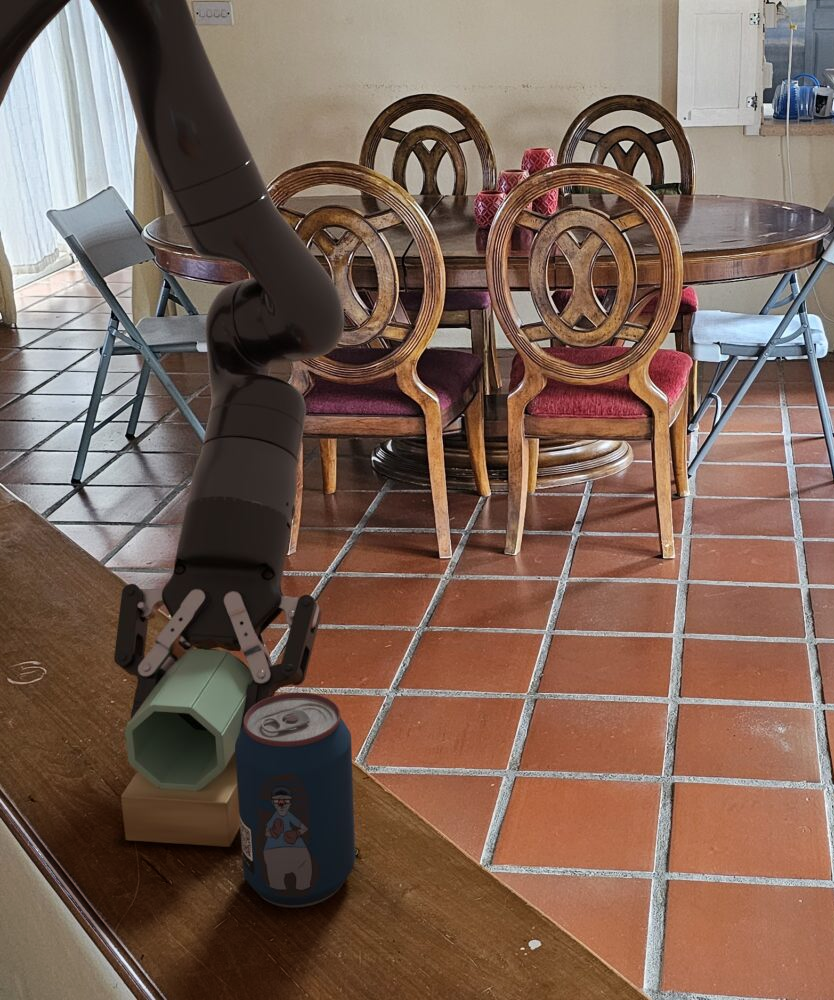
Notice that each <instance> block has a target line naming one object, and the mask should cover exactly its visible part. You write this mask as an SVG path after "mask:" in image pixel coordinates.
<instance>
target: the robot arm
mask: <svg viewBox="0 0 834 1000" xmlns="http://www.w3.org/2000/svg"><path fill="white" fill-rule="evenodd" d="M71 1H72V0H0V107H2V104H3V102H4V99H5V97H6V95H7V92H8V90H9V88H10V85H11V83H12V81H13V78H14V76H15V74H16V71H17V69H18V68H19V65H20V64H21V62H22V60H23V58H24V56H25V55H26V53H27V52H28V51H29V49H30V48H31V46H32V44H33V43H34V42H35V41H36V40H37V39H38V37H39V36H40V35H41V33H42V32H43V31H44V30H45V29H46V28H47V27H48V25H50V24H51V22H52V21H54V19H55V18H56V17H57V16H58V15H59V14H60V13H61V11H62V10H63V9H64V8H65V7H66V6H67V5H68V4H69V3H70V2H71ZM89 2H90V4H91V5H92V7H93V9H94V11H95V12H96V14H97V17H98V18H99V20H100V22H101V24H102V26H103V28H104V30H105V32H106V34H107V37H108V39H109V41H110V43H111V45H112V48H113V50H114V51H113V52H114V53H115V56H116V58H117V61H118V63H119V66H120V70H121V72H122V75H123V78H124V82H125V84H126V87H127V92H128V95H129V98H130V102H131V106H132V110H133V114H134V116H135V121H136V125H137V128H138V131H139V133H140V137H141V140H142V144H143V146H144V149H145V152H146V154H147V157H148V159H149V162H150V164H151V168H152V170H153V172H154V174H155V176H156V178H157V182H158V183H159V185H160V187H161V190H162V191H163V194H164V196H165V197H166V200H167V201H168V204H169V206H170V208H171V210H172V212H173V214H174V216H175V219H176V220H177V222H178V224H179V226H180V229H181V231H182V233H183V234H184V237H185V238H186V240H187V242H188V243H189V246H190V247H191V249H192V250H193V252H195V254H196V255H198V256H199V257H200V258H203V259H206V260H212V261H226V262H227V261H228V262H232V263H235V264H238V265H240V266H242V268H244V270H246V271H247V272H248V274H250V276H251V278H245V279H242V280H238V281H234V282H232V283H230V284H228V285H226V286H224V287H222V288H221V290H220V291H219V292H218V293H217V294H216V295H215V297H214V298H213V300H212V302H211V303H210V306H209V309H208V311H207V314H206V318H205V343H206V344H205V345H206V352H207V353H206V354H207V363H208V378H209V385H210V396H211V397H210V398H211V403H210V407H209V412H208V417H207V424H206V426H205V433H204V437H203V442H202V447H201V450H200V453H199V457H198V459H197V462H196V464H195V468H194V471H193V473H192V477H191V482H190V486H189V491H188V496H187V500H186V506H185V509H184V514H183V515H184V516H183V520H182V524H181V530H180V533H179V534H180V535H179V539H178V540H179V541H178V545H177V550H176V554H175V559H174V567H173V571H172V575H171V577H170V579H169V580H168V581H167V582H166V583H165V585H164V586H163V587H161V588H140V587H139V586H138V585H137V584H135V583H128V584H126V585H125V586H124V587H123V588H122V591H121V597H120V606H119V615H118V623H117V631H116V639H115V648H114V657H113V660H114V663H115V664H116V665H117V666H118V667H120V668H121V669H123V671H125V672H126V673H127V674H128V675H130V676H134V677H136V678H137V684H136V689H135V693H134V698H133V703H132V708H131V711H130V712H131V713H130V720H131V719H132V718H133V716H134V715H135V713H136V712H137V711H138V709H139V708H140V707H141V705H142V704H143V703H144V701H145V700H146V698H147V697H148V696H149V694H150V693H151V692H152V690H153V689H154V687H155V686H156V685H157V683H158V682H159V681H160V679H161V678H162V677H163V675H164V674H165V672H166V671H167V670H168V669H169V668H170V667H171V666H172V665H173V664H174V663H175V662H177V661H178V660H179V659H180V658H181V657H182V656H183V655H184V654H185V653H187V652H188V651H189V650H192V649H217V648H221V649H223V650H225V651H228V652H242V654H243V655H244V657H245V660H246V662H247V666H248V668H249V669H250V671H251V674H252V676H253V685H248V688H247V694H246V695H247V696H246V702H245V708H244V713H243V719H242V725H241V730H242V728H243V726H244V724H243V721H244V717H245V714H246V713H247V711H248V710H249V709H250V708H251V707H252V706H254V705H255V704H257V703H258V702H260V701H262V700H264V699H267V698H269V697H272V696H275V695H276V692H277V691H279V689H281V688H283V687H287V686H290V685H292V686H300V685H302V684H303V683H304V682H305V679H306V675H307V671H308V668H309V665H310V659H311V656H312V652H313V648H314V645H315V641H316V637H317V633H318V629H319V625H320V622H321V618H322V609H321V607H320V605H319V604H318V603H317V601H316V600H315V598H314V597H313V596H312V595H310V594H303V595H301V596H300V597H296V596H295V597H294V596H289V595H284V594H283V592H282V581H283V575H284V569H285V563H286V557H287V551H288V545H289V539H290V534H291V527H292V522H293V521H294V518H295V513H296V505H295V504H296V498H297V489H298V486H297V484H298V482H297V481H298V468H299V467H298V465H299V461H300V454H301V450H302V449H301V448H302V442H303V437H304V433H305V432H304V430H305V424H306V416H307V415H306V414H307V404H306V401H305V398H304V396H303V394H302V393H301V391H300V390H299V389H298V388H297V387H296V386H294V385H293V384H291V383H290V382H288V381H286V380H283V379H281V378H278V377H277V376H272V375H270V373H271V370H272V369H273V367H276V366H282V365H286V364H291V363H296V362H302V361H307V360H311V359H317V358H320V357H323V356H325V355H328V354H330V353H331V352H333V350H335V348H336V347H338V345H339V343H340V342H341V339H342V337H343V333H344V329H345V311H344V306H343V302H342V298H341V295H340V292H339V290H338V288H337V287H336V285H335V283H334V281H333V279H332V278H331V276H330V275H329V274H328V272H327V271H326V269H325V267H324V266H323V265H322V264H321V263H320V262H319V261H318V259H317V257H315V256H314V254H313V253H312V251H311V250H310V248H308V246H307V245H306V244H305V243H304V241H303V240H302V239H301V237H300V236H299V235H298V233H297V232H296V231H295V230H294V228H293V227H292V226H291V224H290V223H288V221H287V220H286V219H285V217H284V216H283V215H282V213H280V211H279V210H278V208H277V207H276V205H275V203H274V201H273V198H272V197H271V194H270V191H269V190H268V187H267V185H266V183H265V180H264V178H263V176H262V173H261V171H260V169H259V167H258V165H257V163H256V159H255V158H254V157H253V154H252V151H251V149H250V147H249V145H248V143H247V141H246V139H245V136H244V134H243V132H242V129H241V127H240V125H239V123H238V120H237V118H236V117H235V114H234V112H233V110H232V108H231V106H230V104H229V101H228V99H227V97H226V95H225V93H224V91H223V88H222V86H221V84H220V82H219V79H218V77H217V75H216V72H215V70H214V67H213V65H212V63H211V61H210V59H209V56H208V54H207V51H206V49H205V46H204V44H203V42H202V39H201V37H200V34H199V32H198V29H197V26H196V24H195V21H194V18H193V16H192V12H191V10H190V7H189V4H188V1H187V0H89ZM162 606H164V607H165V608H166V610H167V612H168V614H169V616H170V619H169V620H168V622H167V623H166V624H165V626H164V627H163V628H162V629H161V631H160V632H159V633H158V635H157V636H156V638H155V643H154V644H153V646H152V648H150V649H149V651H148V652H147V654H146V644H147V635H148V627H149V621H152V620H153V619H154V618H155V617H156V615H157V613H158V610H159V608H161V607H162ZM282 613H284V614H285V618H284V620H285V623H286V624H287V625H288V627H289V633H288V635H287V639H286V644H285V648H284V650H283V655H282V659H281V661H280V663H278V664H274V665H273V663H272V659H271V655H270V653H269V650H268V647H267V645H266V642H265V639H264V636H263V632H265V630H266V629H267V628H268V627H269V626H270V625H271V624H272V623H273V622H275V620H276V619H277V618H278V617H279V616H280V615H281V614H282ZM145 654H146V655H145ZM241 730H240V732H241Z"/></svg>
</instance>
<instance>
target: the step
mask: <svg viewBox="0 0 834 1000" xmlns="http://www.w3.org/2000/svg"><path fill="white" fill-rule="evenodd" d="M120 801H121V811H122V818H123V826H124V838H125V841H133V842H147V843H149V842H150V843H163V844H177V845H178V844H180V845H191V846H192V845H194V846H207V847H208V846H211V847H225V848H230V847H231V846H232V844H233V841H234V840H235V838H236V835H237V834H238V832H239V830H240V815H239V800H238V786H237V771H236V756H235V752H234V753H233V755H232V757H231V759H230V760H229V762H228V764H227V766H226V768H225V769H224V771H222V772H221V773H220V774H219V775H218V776H217V777H215V778H214V779H213V780H212V781H211V782H209V783H208V784H207V785H206V786H205V787H204V788H202V789H201V790H200V791H199V790H198V791H182V790H167V789H160V787H159V788H157V787H156V786H155V785H154V784H153V783H151V782H150V781H149V780H148V779H147V778H145V777H144V776H143V775H142V774H141V773H140V772H138V771H137V772H136V773H135V775H133V778H131V780H130V782H129V783H128V785H127V786H126V788H125V789H124V791H123V792H122V794H121V795H120Z"/></svg>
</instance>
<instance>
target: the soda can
mask: <svg viewBox="0 0 834 1000" xmlns="http://www.w3.org/2000/svg"><path fill="white" fill-rule="evenodd" d="M243 724H244V726H243V728H242V730H241V732H240V734H239V736H238V738H237V740H236V743H235V756H236V771H237V786H238V800H239V815H240V828H239V830H240V843H241V857H242V871H243V875H244V878H245V879H246V881H247V883H248V884H249V885H250V887H251V888H252V890H254V891H255V892H256V893H257V894H258V895H259V896H260V897H261V898H262V899H263V900H265V901H266V902H267V903H269V904H272V905H275V906H278V907H283V908H295V909H296V908H305V907H309V906H314V905H317V904H319V903H323V902H324V901H327V900H329V899H330V898H331V897H333V895H335V894H336V893H338V891H339V890H340V889H341V888H342V886H343V885H344V883H345V882H346V881H347V879H348V877H349V876H350V874H351V873H352V871H353V868H354V866H355V861H356V842H355V841H356V839H355V836H356V835H355V813H354V812H355V807H354V783H353V782H354V781H353V776H354V775H353V751H352V749H353V748H352V734H351V731H350V729H349V727H348V725H347V724H346V723H345V721H344V720H343V718H342V714H341V709H340V707H339V706H338V705H337V704H336V703H335V702H334V701H333V700H332V699H330V698H328V697H326V696H323V695H320V694H316V693H311V692H310V693H309V692H298V691H297V692H293V691H292V692H285V693H280V694H279V693H278V694H275V695H274V696H272V697H269V698H267V699H264V700H262V701H260V702H258V703H257V704H255V705H254V706H252V707H251V708H250V709H249V710H248V711H247V713H246V714H245V717H244V721H243Z"/></svg>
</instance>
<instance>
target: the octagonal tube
mask: <svg viewBox="0 0 834 1000" xmlns="http://www.w3.org/2000/svg"><path fill="white" fill-rule="evenodd" d="M248 685H253V676H252V674H251V671H250V668H249V666H248V664H245V662H244V661H242V660H241V659H240V658H239V657H237V656H236V655H234V654H233V653H232V652H231V651H229V650H220V649H217V648H212V649H197V648H194V649H192V650H189V651H188V652H187V653H185V654H184V655H183V656H182V657H181V658H180V659H179V660H178V661H177V662H175V663H174V664H173V665H172V666H171V667H170V668H169V669H168V670H167V671H166V672H165V674H164V675H163V677H162V678H161V679H160V681H159V682H158V683H157V685H156V686H155V687H154V689H153V690H152V692H151V693H150V694H149V696H148V697H147V698H146V700H145V701H144V703H143V704H142V705H141V707H140V708H139V709H138V711H137V712H136V713H135V715H134V716H133V718H132V719H131V718H130V720H129V722H127V724H126V726H125V728H124V734H125V735H124V736H125V744H126V756H127V761H128V763H129V765H130V766H131V767H132V768H134V769H135V770H136V771H137V772H140V773H141V774H142V775H143V776H144V777H145V778H147V779H148V780H149V781H150V782H151V783H153V784H154V785H155V786H156V787H157V788H159V787H160V789H167V790H182V791H198V790H199V791H200V790H201V789H202V788H204V787H205V786H206V785H207V784H208V783H209V782H211V781H212V780H213V779H214V778H215V777H217V776H218V775H219V774H220V773H221V772H222V771H224V769H225V768H226V766H227V764H228V762H229V760H230V759H231V757H232V755H233V753H234V752H235V743H236V740H237V738H238V736H239V734H240V730H241V725H242V719H243V713H244V708H245V702H246V696H247V695H246V694H247V688H248Z"/></svg>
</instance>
